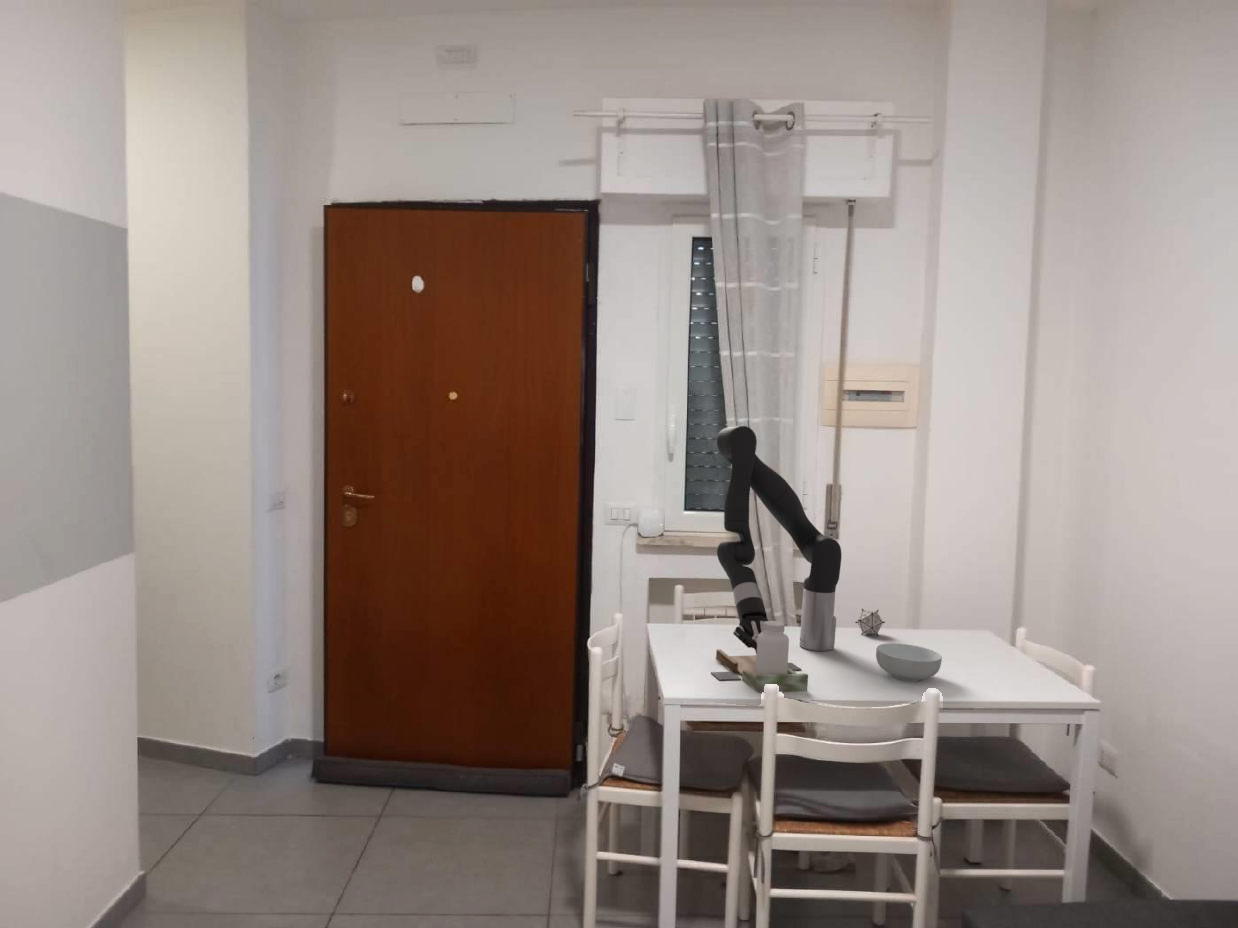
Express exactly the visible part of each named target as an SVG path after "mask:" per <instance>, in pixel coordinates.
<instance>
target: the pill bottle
mask: <svg viewBox="0 0 1238 928" xmlns="http://www.w3.org/2000/svg"><path fill="white" fill-rule="evenodd" d="M763 628H764V629H763V631H764V632H761V633H760V634H759V635H758V638H757V656H756V675H755V676H756V677H757V675H777V674H787V668H788V663H789V649H790V648H789V647H790V645H789V644H790V638H789V636H788V635H787V634H786V633H785V623H784V622H781V621H776V620H769V621H765V622H764V623H763Z"/></svg>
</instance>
